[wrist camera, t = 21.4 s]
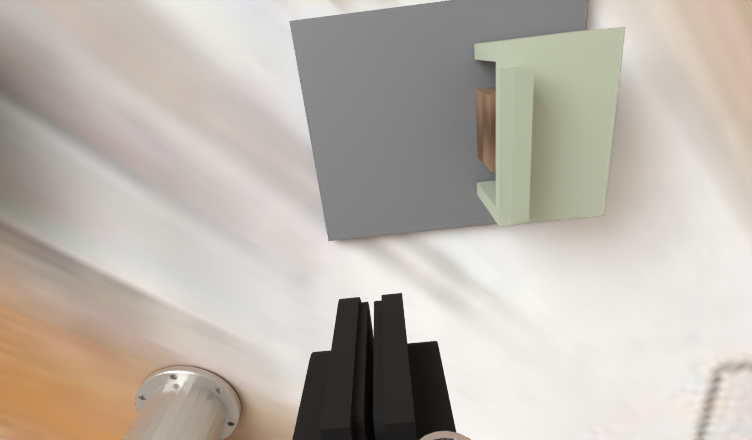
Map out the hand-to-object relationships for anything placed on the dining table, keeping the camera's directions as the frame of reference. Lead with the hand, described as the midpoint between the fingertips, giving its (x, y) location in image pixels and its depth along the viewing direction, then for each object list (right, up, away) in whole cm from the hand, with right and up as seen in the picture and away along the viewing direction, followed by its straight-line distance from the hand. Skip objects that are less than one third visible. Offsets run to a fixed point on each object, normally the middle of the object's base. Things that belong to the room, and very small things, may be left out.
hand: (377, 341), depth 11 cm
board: (+6, +12, +27) cm, 30 cm away
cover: (+13, +12, +25) cm, 30 cm away
